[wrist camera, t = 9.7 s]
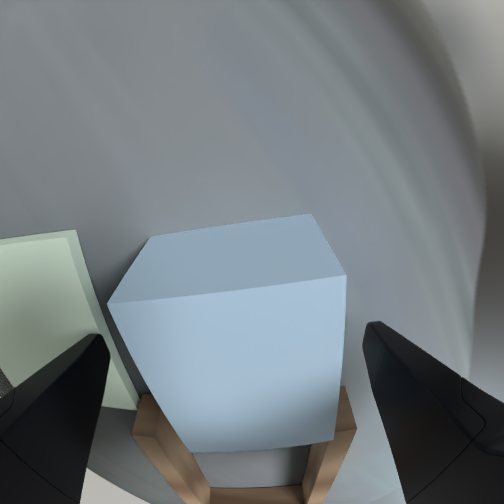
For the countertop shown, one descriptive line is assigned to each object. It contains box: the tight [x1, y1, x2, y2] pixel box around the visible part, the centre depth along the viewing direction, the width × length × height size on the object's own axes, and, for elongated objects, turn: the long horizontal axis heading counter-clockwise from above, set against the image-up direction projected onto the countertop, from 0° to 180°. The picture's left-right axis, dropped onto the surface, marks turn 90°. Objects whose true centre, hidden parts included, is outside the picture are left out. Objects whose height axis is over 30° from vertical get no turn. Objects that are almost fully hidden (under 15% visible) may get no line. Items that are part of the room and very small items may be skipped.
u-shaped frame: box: [131, 386, 357, 504], centre depth 13 cm, size 13×8×2 cm, turn 3°
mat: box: [0, 230, 141, 411], centre depth 10 cm, size 8×8×1 cm
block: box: [107, 214, 346, 453], centre depth 8 cm, size 6×4×4 cm
